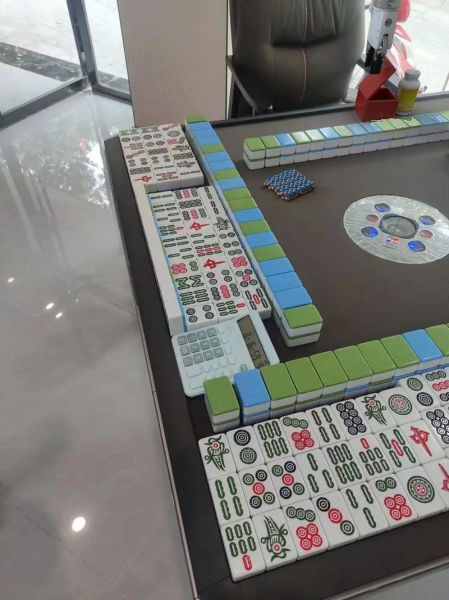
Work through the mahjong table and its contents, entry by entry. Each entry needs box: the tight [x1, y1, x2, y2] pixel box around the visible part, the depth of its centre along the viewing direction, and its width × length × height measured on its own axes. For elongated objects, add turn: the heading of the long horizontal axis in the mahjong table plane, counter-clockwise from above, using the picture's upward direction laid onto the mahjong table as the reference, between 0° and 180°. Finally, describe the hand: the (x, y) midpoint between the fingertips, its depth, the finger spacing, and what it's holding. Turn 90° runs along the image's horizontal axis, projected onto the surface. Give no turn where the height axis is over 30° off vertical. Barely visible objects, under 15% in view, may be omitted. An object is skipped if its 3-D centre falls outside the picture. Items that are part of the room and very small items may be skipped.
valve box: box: [353, 86, 399, 123], centre depth 143 cm, size 10×10×7 cm
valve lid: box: [357, 55, 398, 100], centre depth 135 cm, size 11×10×5 cm
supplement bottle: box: [395, 68, 422, 116], centre depth 141 cm, size 7×7×13 cm
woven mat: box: [263, 168, 317, 201], centre depth 117 cm, size 10×11×2 cm
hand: (371, 69), depth 134 cm, fingers closed on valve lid, 5 cm apart
